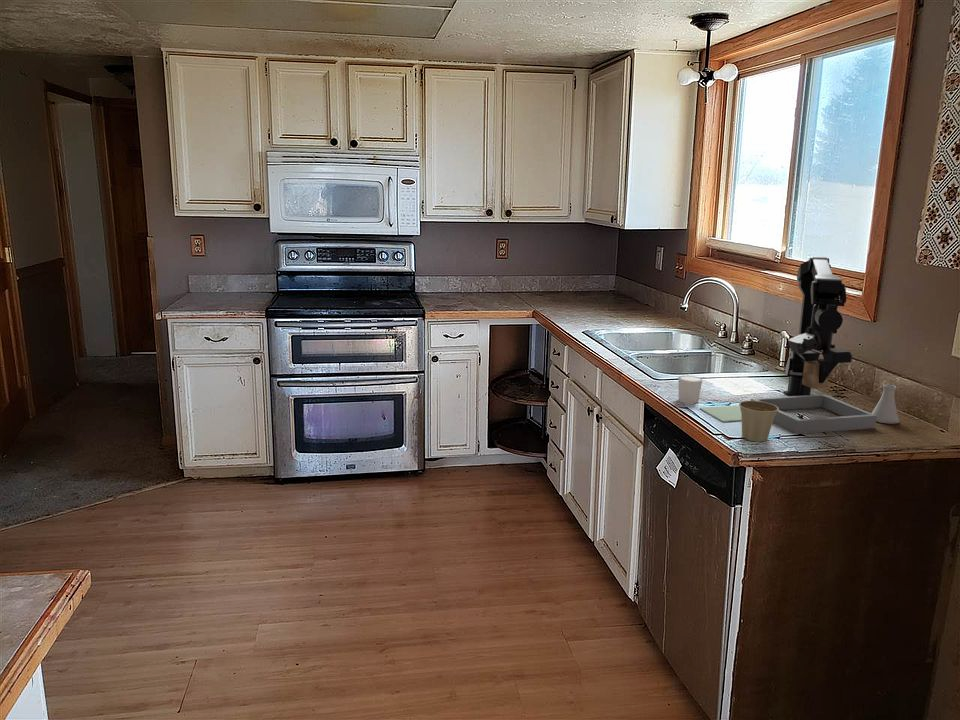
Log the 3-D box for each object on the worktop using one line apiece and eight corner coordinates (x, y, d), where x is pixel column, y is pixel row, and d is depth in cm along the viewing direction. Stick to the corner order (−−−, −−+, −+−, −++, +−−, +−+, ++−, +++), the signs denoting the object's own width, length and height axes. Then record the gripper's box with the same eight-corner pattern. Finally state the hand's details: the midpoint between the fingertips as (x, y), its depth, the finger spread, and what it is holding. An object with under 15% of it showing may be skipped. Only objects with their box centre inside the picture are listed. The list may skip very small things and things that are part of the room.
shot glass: (684, 396, 224) (686, 374, 222) (704, 401, 219) (706, 378, 217) (671, 400, 219) (673, 377, 217) (692, 405, 214) (694, 382, 213)
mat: (699, 409, 211) (699, 407, 211) (736, 406, 214) (736, 405, 214) (722, 422, 200) (723, 420, 200) (761, 419, 203) (761, 418, 203)
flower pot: (763, 431, 193) (766, 400, 191) (782, 444, 184) (786, 411, 182) (729, 432, 192) (732, 400, 190) (746, 445, 183) (750, 411, 181)
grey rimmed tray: (749, 410, 211) (751, 398, 210) (822, 405, 217) (824, 394, 216) (796, 433, 192) (797, 421, 191) (874, 428, 198) (876, 415, 197)
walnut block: (801, 384, 204) (804, 361, 202) (815, 383, 205) (818, 360, 203) (812, 388, 200) (815, 365, 198) (826, 387, 201) (830, 364, 199)
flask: (889, 416, 208) (895, 382, 206) (904, 424, 201) (910, 389, 199) (864, 416, 208) (869, 382, 206) (878, 424, 201) (884, 389, 199)
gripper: (774, 319, 205) (768, 373, 209) (820, 332, 187) (812, 391, 191) (809, 318, 208) (802, 371, 211) (857, 331, 190) (848, 389, 194)
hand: (814, 380), depth 202 cm, fingers closed on walnut block, 4 cm apart
